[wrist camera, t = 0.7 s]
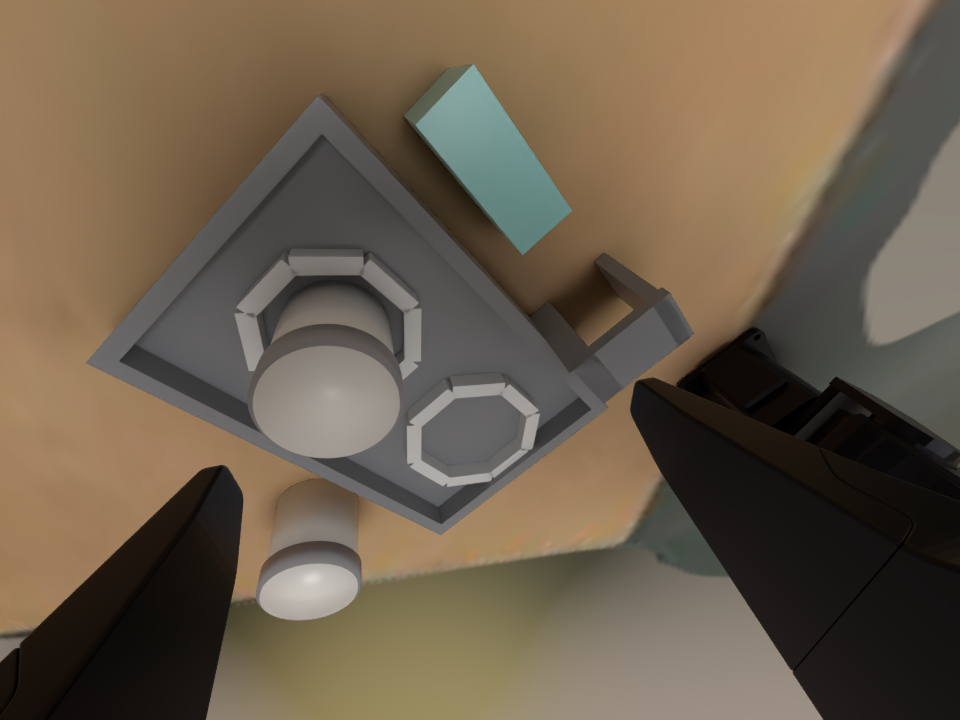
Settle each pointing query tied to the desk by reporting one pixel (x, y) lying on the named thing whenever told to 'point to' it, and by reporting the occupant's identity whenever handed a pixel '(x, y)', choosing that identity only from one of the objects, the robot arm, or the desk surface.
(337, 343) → the white domed cylinder
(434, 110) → the bar
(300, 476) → the desk surface
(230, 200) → the tray
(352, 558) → the grey lidded container
